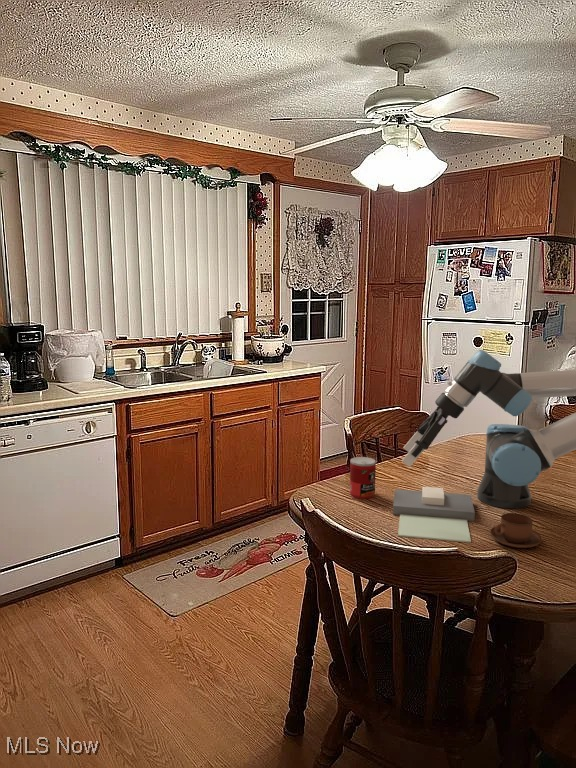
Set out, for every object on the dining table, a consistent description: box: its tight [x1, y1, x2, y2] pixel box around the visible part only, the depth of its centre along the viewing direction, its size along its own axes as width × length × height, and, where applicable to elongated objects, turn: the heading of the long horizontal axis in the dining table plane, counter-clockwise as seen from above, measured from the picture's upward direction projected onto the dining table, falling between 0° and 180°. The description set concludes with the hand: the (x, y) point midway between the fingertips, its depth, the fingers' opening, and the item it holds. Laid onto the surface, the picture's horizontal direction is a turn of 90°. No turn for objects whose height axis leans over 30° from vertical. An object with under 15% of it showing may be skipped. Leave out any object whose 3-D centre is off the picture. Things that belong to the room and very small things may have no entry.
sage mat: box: [397, 514, 472, 543], centre depth 154 cm, size 18×14×1 cm
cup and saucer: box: [490, 512, 543, 549], centre depth 145 cm, size 12×12×6 cm
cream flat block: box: [421, 486, 445, 505], centre depth 168 cm, size 9×6×2 cm, turn 167°
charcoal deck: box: [392, 488, 476, 522], centre depth 167 cm, size 22×14×2 cm, turn 77°
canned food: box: [349, 456, 377, 500], centre depth 178 cm, size 8×8×11 cm
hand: (406, 457), depth 166 cm, fingers open, 13 cm apart
